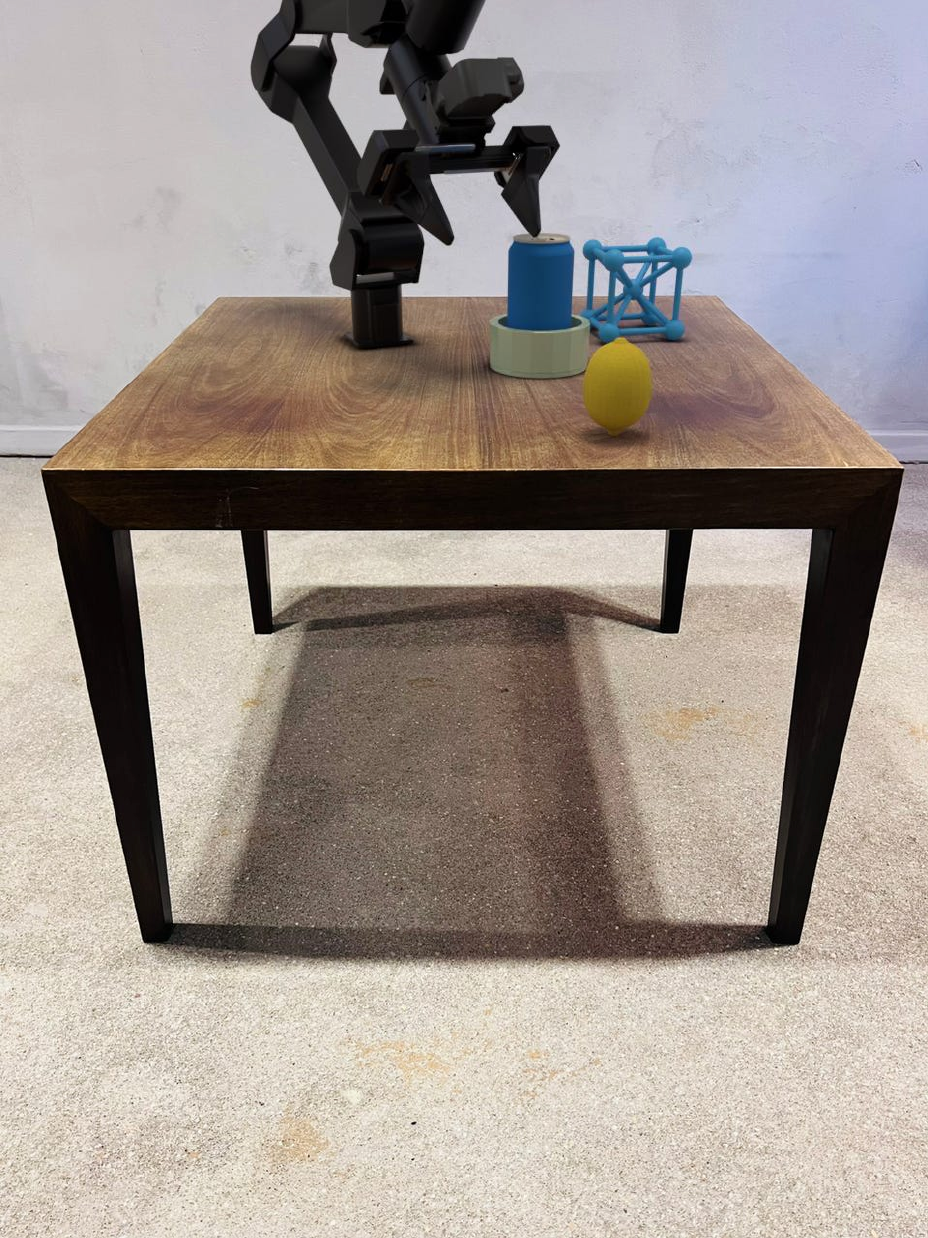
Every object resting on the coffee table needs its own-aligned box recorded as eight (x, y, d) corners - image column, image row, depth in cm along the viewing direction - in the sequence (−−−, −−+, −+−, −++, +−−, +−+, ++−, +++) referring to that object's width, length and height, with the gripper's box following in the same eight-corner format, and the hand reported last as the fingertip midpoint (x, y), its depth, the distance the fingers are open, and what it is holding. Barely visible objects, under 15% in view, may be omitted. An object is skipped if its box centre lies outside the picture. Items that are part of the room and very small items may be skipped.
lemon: (605, 450, 78) (612, 348, 74) (567, 431, 82) (572, 334, 78) (661, 439, 80) (671, 340, 76) (621, 421, 85) (628, 326, 81)
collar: (475, 359, 104) (475, 315, 102) (560, 350, 107) (561, 308, 105) (514, 382, 96) (515, 335, 94) (604, 372, 99) (607, 327, 97)
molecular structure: (686, 341, 110) (696, 247, 106) (601, 346, 109) (607, 250, 104) (655, 323, 119) (663, 235, 114) (575, 326, 117) (580, 237, 113)
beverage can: (573, 354, 103) (579, 233, 98) (564, 370, 98) (570, 242, 92) (512, 351, 105) (514, 231, 99) (501, 366, 99) (502, 240, 93)
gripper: (364, 17, 79) (436, 177, 76) (552, 23, 87) (623, 167, 84) (329, 124, 88) (392, 270, 86) (501, 120, 97) (563, 252, 94)
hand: (495, 238), depth 87 cm, fingers open, 9 cm apart
